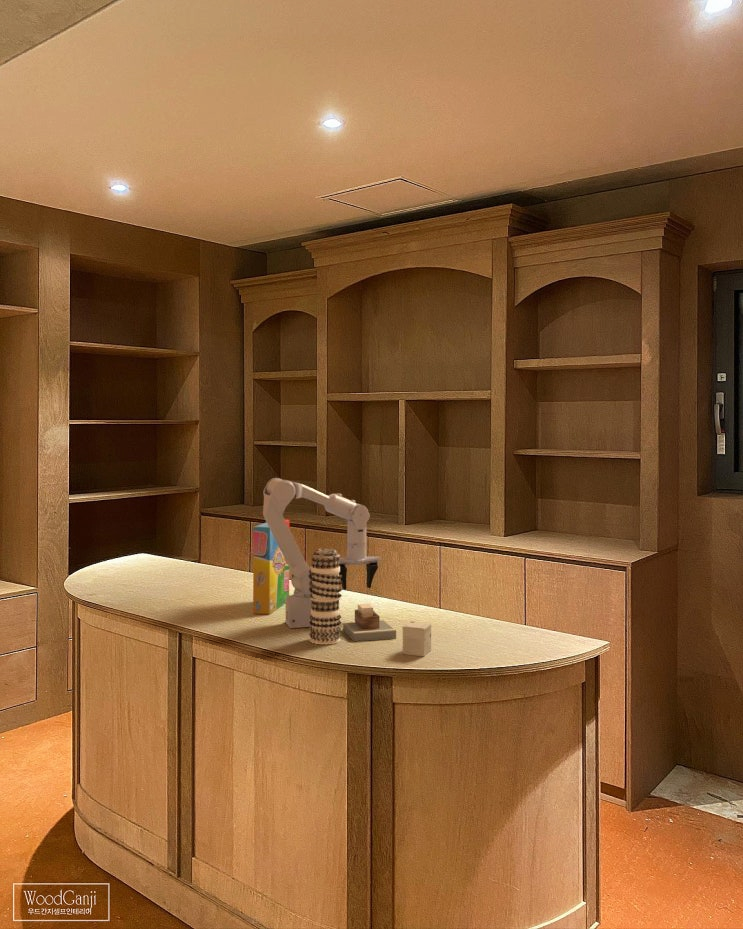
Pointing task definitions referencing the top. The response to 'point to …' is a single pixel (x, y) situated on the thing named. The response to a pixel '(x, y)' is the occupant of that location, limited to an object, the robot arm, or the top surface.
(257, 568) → the game box
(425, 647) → the skincare box
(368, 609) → the beige block
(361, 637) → the dock
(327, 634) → the decorative candle
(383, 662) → the top surface
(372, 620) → the brown wooden tray
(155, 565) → the top surface
